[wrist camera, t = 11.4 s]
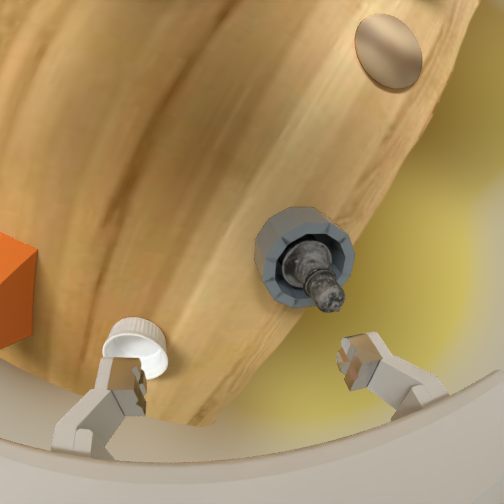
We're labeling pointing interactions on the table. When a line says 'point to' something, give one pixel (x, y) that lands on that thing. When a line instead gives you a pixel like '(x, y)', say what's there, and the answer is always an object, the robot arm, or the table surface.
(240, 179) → the table surface
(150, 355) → the ramekin
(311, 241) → the grey chess piece
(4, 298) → the pyramid
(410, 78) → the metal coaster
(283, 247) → the grey faceted cup
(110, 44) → the table surface
